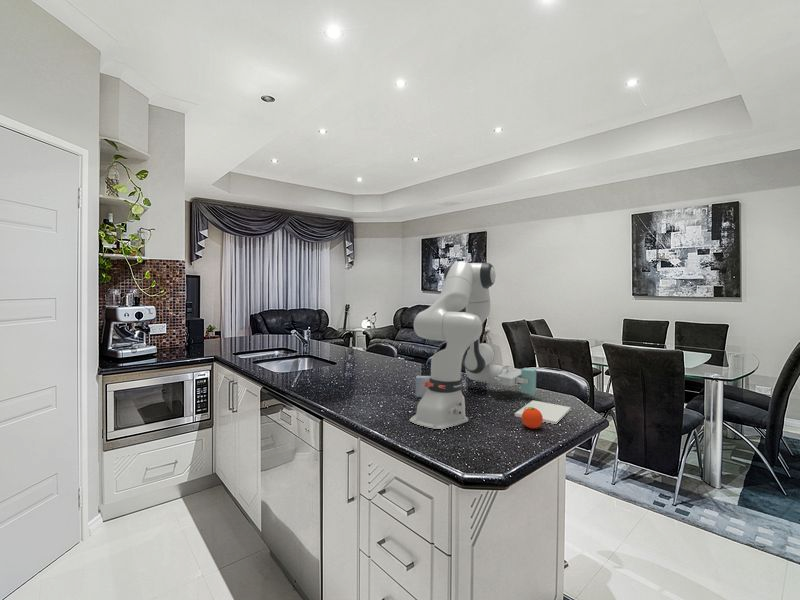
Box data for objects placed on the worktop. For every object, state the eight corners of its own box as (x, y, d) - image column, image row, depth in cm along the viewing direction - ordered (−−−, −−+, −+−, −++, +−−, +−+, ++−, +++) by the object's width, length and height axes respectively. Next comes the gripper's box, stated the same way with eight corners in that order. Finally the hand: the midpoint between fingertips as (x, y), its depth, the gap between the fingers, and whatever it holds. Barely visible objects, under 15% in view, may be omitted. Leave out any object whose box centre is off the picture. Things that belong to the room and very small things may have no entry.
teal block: (532, 394, 168) (533, 371, 168) (520, 392, 171) (521, 369, 171) (535, 392, 172) (536, 369, 172) (524, 390, 175) (525, 367, 175)
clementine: (515, 424, 139) (515, 404, 138) (530, 422, 141) (531, 402, 141) (531, 432, 131) (531, 411, 131) (547, 430, 134) (547, 409, 134)
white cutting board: (556, 425, 139) (556, 421, 139) (514, 416, 148) (514, 413, 148) (570, 410, 157) (570, 407, 157) (532, 403, 166) (532, 400, 166)
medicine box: (433, 395, 174) (434, 376, 174) (433, 398, 170) (434, 378, 169) (415, 394, 175) (416, 375, 174) (415, 397, 170) (415, 377, 170)
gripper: (491, 371, 170) (523, 376, 162) (508, 365, 187) (537, 369, 179) (490, 386, 171) (522, 391, 163) (507, 378, 187) (537, 383, 179)
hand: (530, 380), depth 171 cm, fingers closed on teal block, 5 cm apart
